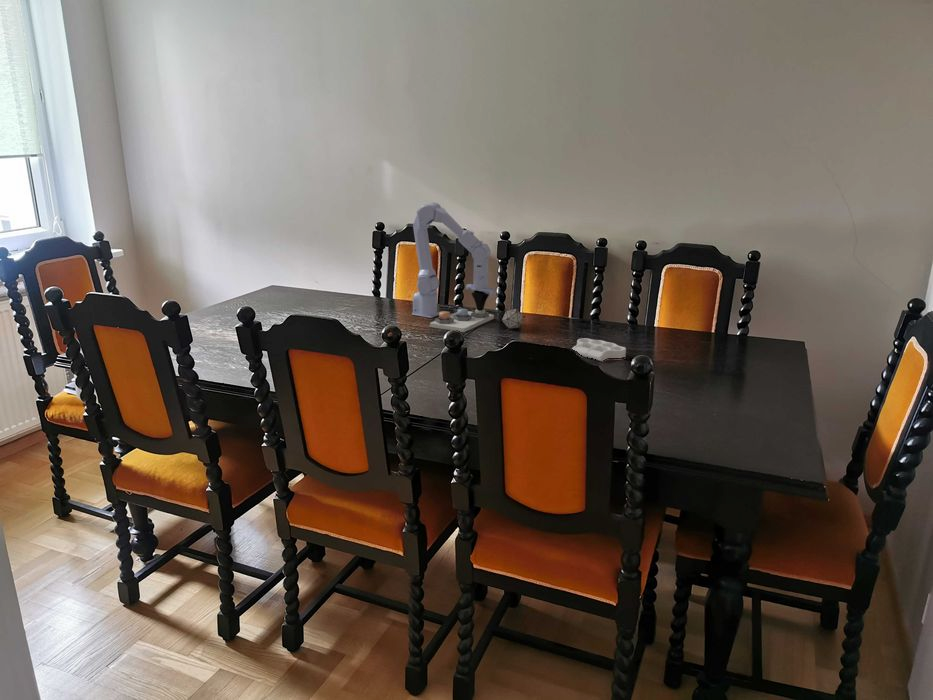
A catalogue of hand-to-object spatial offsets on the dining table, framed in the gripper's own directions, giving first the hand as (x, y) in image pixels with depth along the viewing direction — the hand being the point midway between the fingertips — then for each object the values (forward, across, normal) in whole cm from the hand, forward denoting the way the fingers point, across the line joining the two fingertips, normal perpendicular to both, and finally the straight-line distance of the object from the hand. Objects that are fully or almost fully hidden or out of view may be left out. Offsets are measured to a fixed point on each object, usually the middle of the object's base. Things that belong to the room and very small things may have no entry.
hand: (480, 310), depth 273 cm
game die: (+4, +18, 0) cm, 18 cm away
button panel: (+4, -1, -8) cm, 9 cm away
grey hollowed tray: (+5, +58, -1) cm, 58 cm away
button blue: (+1, -1, -8) cm, 8 cm away
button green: (+2, 0, 0) cm, 2 cm away
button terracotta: (+1, -2, -16) cm, 17 cm away
